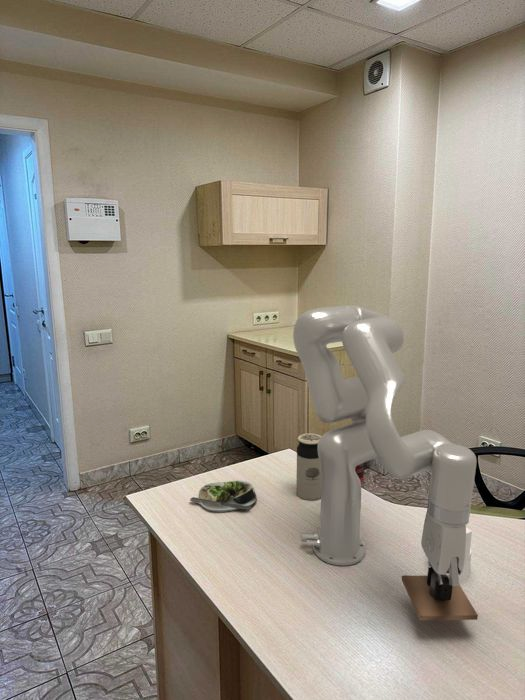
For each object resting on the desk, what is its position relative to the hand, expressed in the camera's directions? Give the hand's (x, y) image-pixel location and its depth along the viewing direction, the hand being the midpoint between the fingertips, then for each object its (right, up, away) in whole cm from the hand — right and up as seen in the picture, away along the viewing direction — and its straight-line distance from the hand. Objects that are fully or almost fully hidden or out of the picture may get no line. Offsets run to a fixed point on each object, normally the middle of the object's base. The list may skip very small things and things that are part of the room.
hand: (438, 591), depth 98 cm
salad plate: (-45, +3, +49) cm, 66 cm away
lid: (0, -2, 0) cm, 2 cm away
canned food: (-7, +6, +59) cm, 60 cm away
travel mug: (-21, +4, +51) cm, 55 cm away
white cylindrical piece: (+8, -3, +17) cm, 19 cm away
